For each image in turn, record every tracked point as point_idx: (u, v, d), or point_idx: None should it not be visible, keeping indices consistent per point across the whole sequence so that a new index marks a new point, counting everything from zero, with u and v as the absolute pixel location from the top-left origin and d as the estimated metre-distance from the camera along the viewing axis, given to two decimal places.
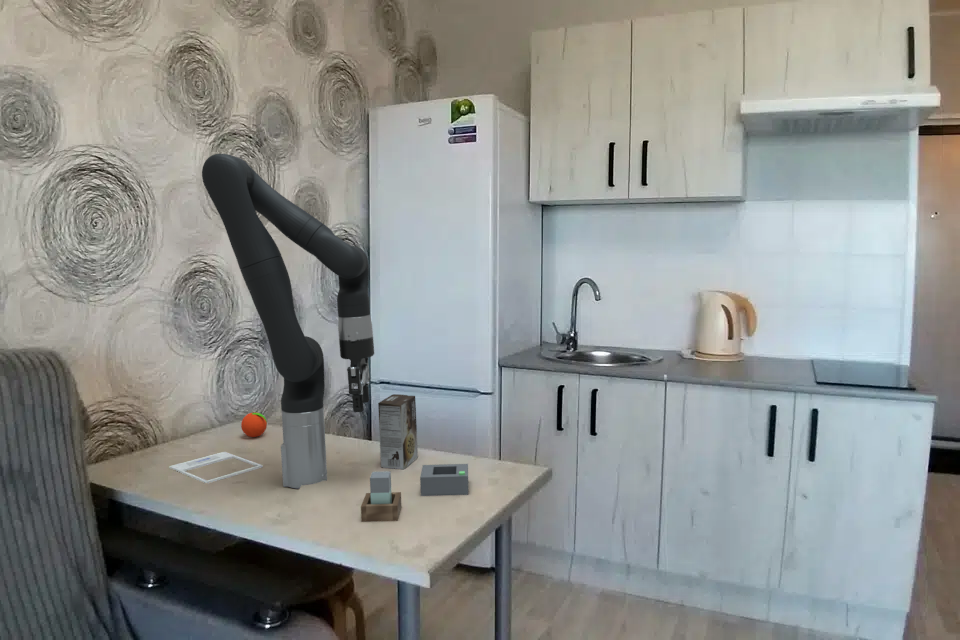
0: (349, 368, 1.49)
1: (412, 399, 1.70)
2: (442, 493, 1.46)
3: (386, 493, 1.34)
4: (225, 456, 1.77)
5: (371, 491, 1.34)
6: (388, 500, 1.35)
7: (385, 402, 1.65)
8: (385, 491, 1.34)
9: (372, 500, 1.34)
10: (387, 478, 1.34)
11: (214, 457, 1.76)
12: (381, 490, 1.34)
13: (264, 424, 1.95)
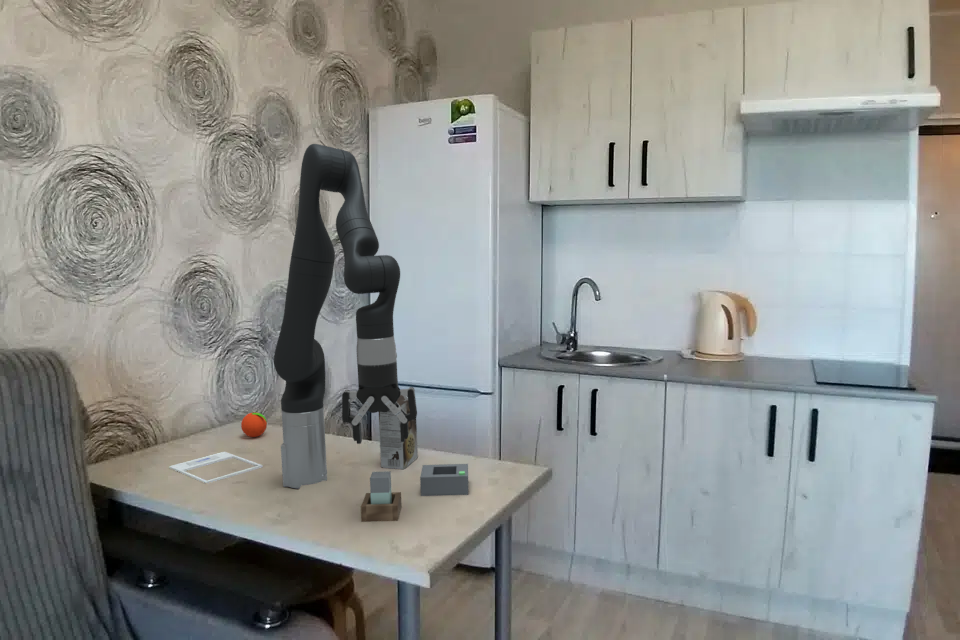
0: (412, 390, 1.33)
1: None
2: (442, 493, 1.46)
3: (386, 493, 1.34)
4: (225, 456, 1.77)
5: (371, 491, 1.34)
6: (388, 500, 1.35)
7: None
8: (385, 491, 1.34)
9: (372, 500, 1.34)
10: (387, 478, 1.34)
11: (214, 457, 1.76)
12: (381, 490, 1.34)
13: (264, 424, 1.95)
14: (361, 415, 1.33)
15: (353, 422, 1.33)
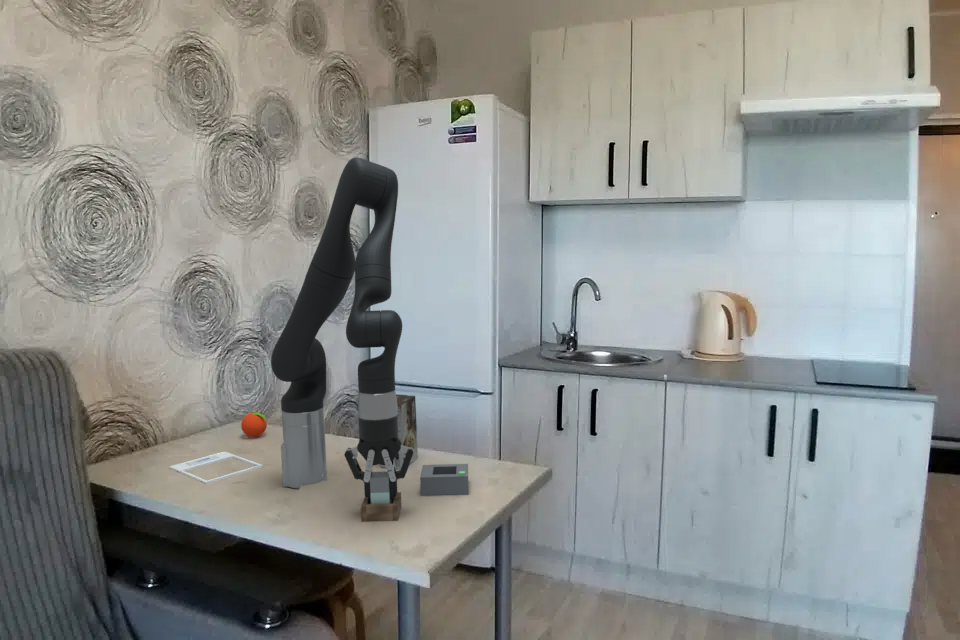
0: (412, 451, 1.34)
1: (412, 399, 1.70)
2: (442, 493, 1.46)
3: (386, 493, 1.34)
4: (225, 456, 1.77)
5: (371, 491, 1.34)
6: (388, 500, 1.35)
7: None
8: (385, 491, 1.34)
9: (372, 500, 1.34)
10: (387, 478, 1.34)
11: (214, 457, 1.76)
12: (381, 490, 1.34)
13: (264, 424, 1.95)
14: (369, 470, 1.34)
15: (365, 479, 1.34)
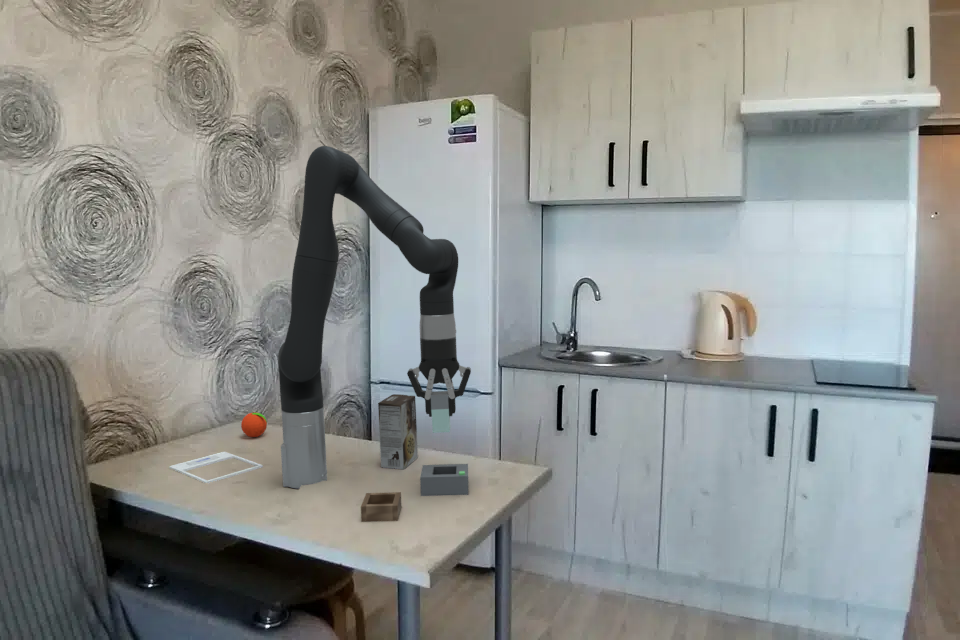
0: (470, 370, 1.45)
1: (412, 399, 1.70)
2: (442, 493, 1.46)
3: (445, 410, 1.45)
4: (225, 456, 1.77)
5: (432, 408, 1.45)
6: (448, 416, 1.45)
7: (385, 402, 1.65)
8: (445, 408, 1.45)
9: (433, 416, 1.45)
10: (446, 395, 1.44)
11: (214, 457, 1.76)
12: (441, 407, 1.45)
13: (264, 424, 1.95)
14: (430, 388, 1.45)
15: (426, 396, 1.45)
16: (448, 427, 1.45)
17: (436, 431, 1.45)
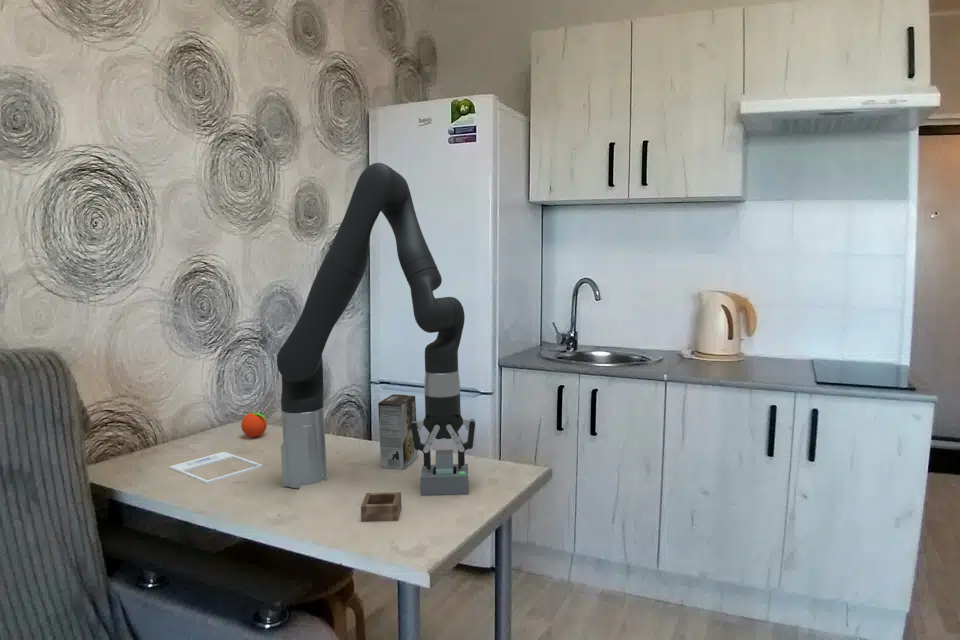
0: (474, 422, 1.47)
1: (412, 399, 1.70)
2: (442, 493, 1.46)
3: (450, 469, 1.47)
4: (225, 456, 1.77)
5: (436, 467, 1.47)
6: None
7: (385, 402, 1.65)
8: (449, 467, 1.47)
9: None
10: (451, 455, 1.47)
11: (214, 457, 1.76)
12: (445, 467, 1.47)
13: (264, 424, 1.95)
14: (430, 443, 1.47)
15: (424, 450, 1.47)
16: None
17: None
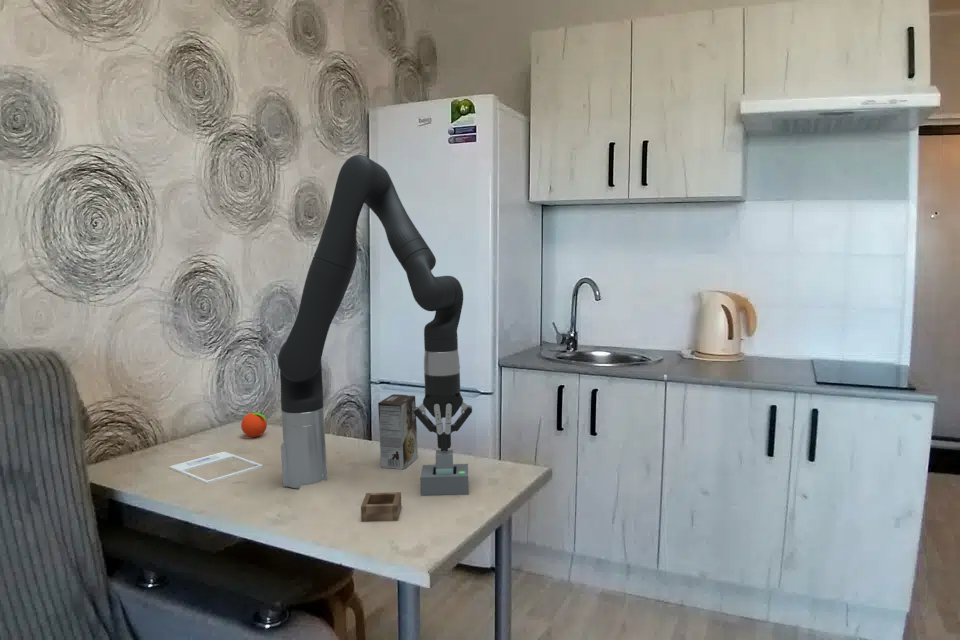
0: (471, 410, 1.47)
1: (412, 399, 1.70)
2: (442, 493, 1.46)
3: (450, 469, 1.47)
4: (225, 456, 1.77)
5: (436, 467, 1.47)
6: None
7: (385, 402, 1.65)
8: (449, 467, 1.47)
9: None
10: (451, 455, 1.47)
11: (214, 457, 1.76)
12: (445, 467, 1.47)
13: (264, 424, 1.95)
14: (439, 423, 1.47)
15: (438, 431, 1.47)
16: None
17: None
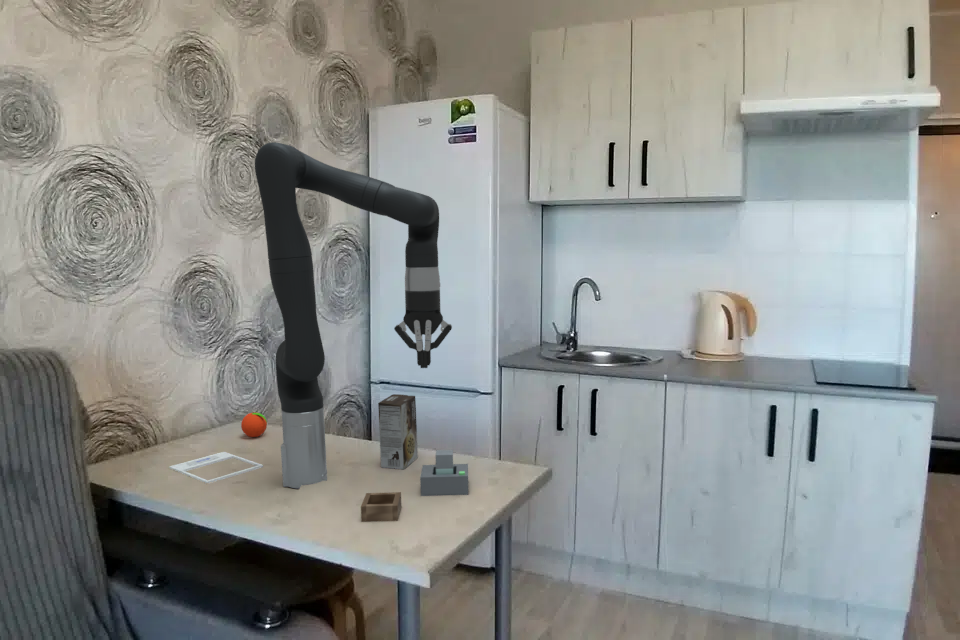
0: None
1: (412, 399, 1.70)
2: (442, 493, 1.46)
3: (450, 469, 1.47)
4: (225, 456, 1.77)
5: (436, 467, 1.47)
6: None
7: (385, 402, 1.65)
8: (449, 467, 1.47)
9: None
10: (451, 455, 1.47)
11: (214, 457, 1.76)
12: (445, 467, 1.47)
13: (264, 424, 1.95)
14: (419, 339, 1.49)
15: (418, 348, 1.50)
16: None
17: None
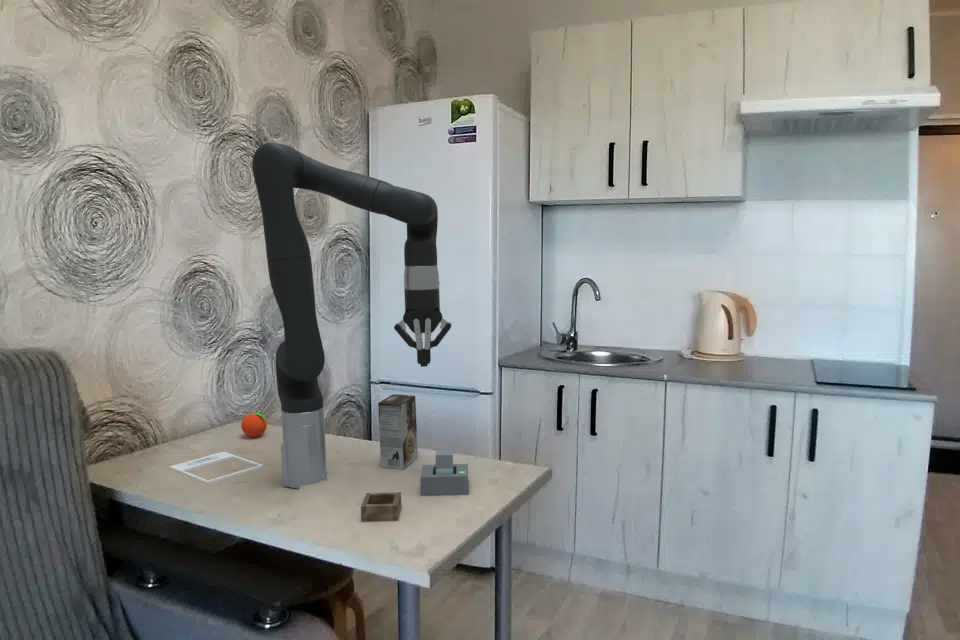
0: None
1: (412, 399, 1.70)
2: (442, 493, 1.46)
3: (450, 469, 1.47)
4: (225, 456, 1.77)
5: (436, 467, 1.47)
6: None
7: (385, 402, 1.65)
8: (449, 467, 1.47)
9: None
10: (451, 455, 1.47)
11: (214, 457, 1.76)
12: (445, 467, 1.47)
13: (264, 424, 1.95)
14: (419, 338, 1.49)
15: (418, 347, 1.50)
16: None
17: None
